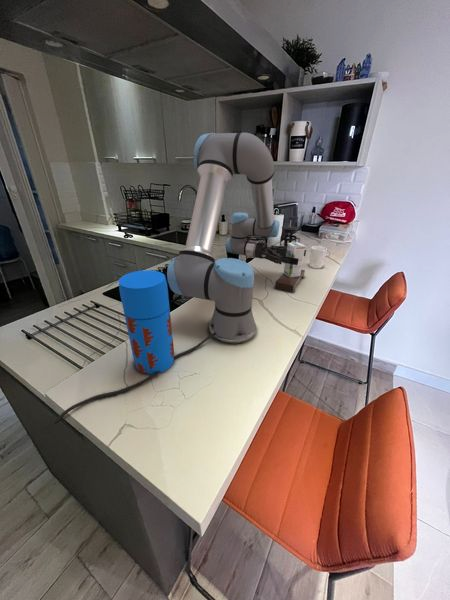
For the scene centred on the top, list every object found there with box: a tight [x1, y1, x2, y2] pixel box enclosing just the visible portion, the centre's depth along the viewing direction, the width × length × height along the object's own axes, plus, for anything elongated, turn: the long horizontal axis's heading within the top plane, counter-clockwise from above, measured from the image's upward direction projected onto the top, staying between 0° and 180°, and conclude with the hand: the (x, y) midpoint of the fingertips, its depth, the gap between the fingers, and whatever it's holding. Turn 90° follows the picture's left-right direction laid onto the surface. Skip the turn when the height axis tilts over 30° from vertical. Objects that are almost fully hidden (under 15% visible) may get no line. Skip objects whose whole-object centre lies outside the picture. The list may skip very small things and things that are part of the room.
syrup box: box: [283, 241, 306, 278], centre depth 115 cm, size 6×6×14 cm
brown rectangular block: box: [274, 269, 306, 294], centre depth 118 cm, size 20×8×4 cm, turn 151°
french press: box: [278, 215, 301, 258], centre depth 146 cm, size 12×9×23 cm
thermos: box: [118, 269, 175, 375], centre depth 66 cm, size 11×11×25 cm
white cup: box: [309, 245, 328, 269], centre depth 136 cm, size 8×8×10 cm
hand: (302, 257), depth 112 cm, fingers open, 13 cm apart
